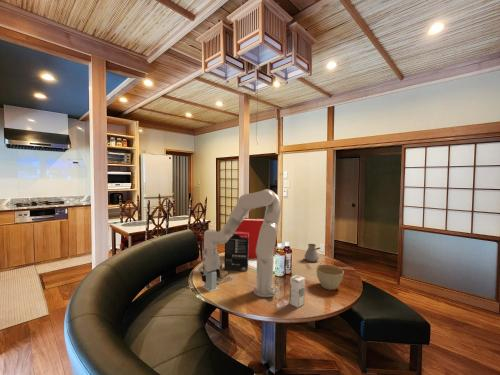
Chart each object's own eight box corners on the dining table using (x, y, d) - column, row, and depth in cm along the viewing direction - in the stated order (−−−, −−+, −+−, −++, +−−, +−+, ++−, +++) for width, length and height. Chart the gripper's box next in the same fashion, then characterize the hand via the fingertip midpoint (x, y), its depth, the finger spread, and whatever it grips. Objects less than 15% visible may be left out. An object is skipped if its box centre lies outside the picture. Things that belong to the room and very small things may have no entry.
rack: (232, 279, 150) (232, 276, 150) (218, 284, 143) (218, 281, 143) (216, 271, 163) (216, 268, 163) (203, 275, 156) (203, 272, 156)
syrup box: (295, 300, 126) (296, 274, 126) (304, 304, 122) (305, 277, 122) (289, 303, 123) (289, 276, 122) (298, 308, 118) (299, 280, 118)
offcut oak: (229, 279, 151) (229, 276, 151) (219, 283, 146) (219, 279, 146) (225, 277, 154) (225, 274, 154) (215, 281, 149) (215, 277, 149)
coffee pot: (302, 258, 194) (302, 240, 193) (315, 257, 195) (315, 240, 195) (312, 267, 173) (313, 248, 172) (326, 267, 174) (327, 247, 174)
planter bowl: (325, 294, 133) (326, 275, 133) (310, 282, 149) (311, 265, 148) (349, 291, 138) (349, 273, 137) (332, 279, 153) (333, 263, 153)
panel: (216, 288, 137) (216, 272, 136) (211, 290, 135) (211, 273, 134) (209, 284, 143) (209, 268, 142) (204, 285, 141) (204, 269, 140)
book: (266, 255, 198) (267, 218, 197) (267, 258, 190) (267, 220, 189) (235, 254, 199) (235, 218, 198) (234, 258, 191) (234, 219, 190)
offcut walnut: (227, 275, 152) (227, 271, 152) (221, 279, 146) (221, 275, 146) (222, 274, 154) (222, 270, 154) (216, 277, 148) (216, 273, 148)
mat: (218, 289, 137) (218, 288, 137) (210, 292, 133) (210, 291, 133) (210, 283, 144) (210, 283, 144) (201, 286, 140) (201, 286, 140)
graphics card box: (248, 268, 171) (249, 231, 169) (247, 271, 164) (248, 233, 163) (225, 266, 172) (226, 230, 171) (223, 270, 165) (224, 232, 164)
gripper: (201, 255, 129) (201, 285, 130) (226, 249, 141) (226, 276, 141) (194, 252, 135) (195, 281, 135) (219, 246, 146) (219, 273, 147)
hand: (211, 279), depth 138 cm, fingers open, 9 cm apart
